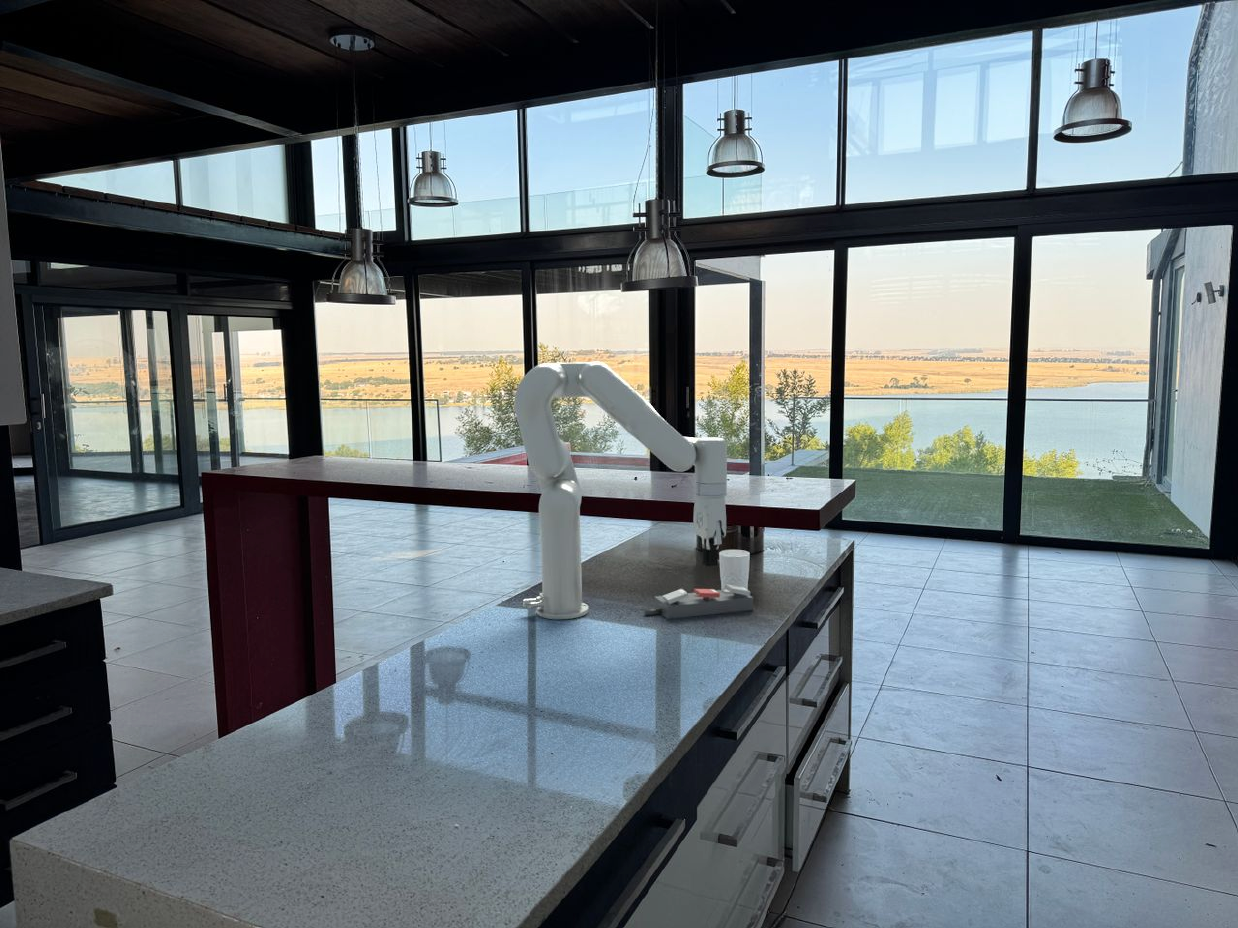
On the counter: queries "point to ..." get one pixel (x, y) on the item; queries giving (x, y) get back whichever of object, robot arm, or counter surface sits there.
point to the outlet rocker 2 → (706, 593)
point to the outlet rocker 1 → (675, 596)
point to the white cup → (734, 568)
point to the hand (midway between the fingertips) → (710, 564)
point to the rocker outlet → (737, 590)
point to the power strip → (702, 605)
